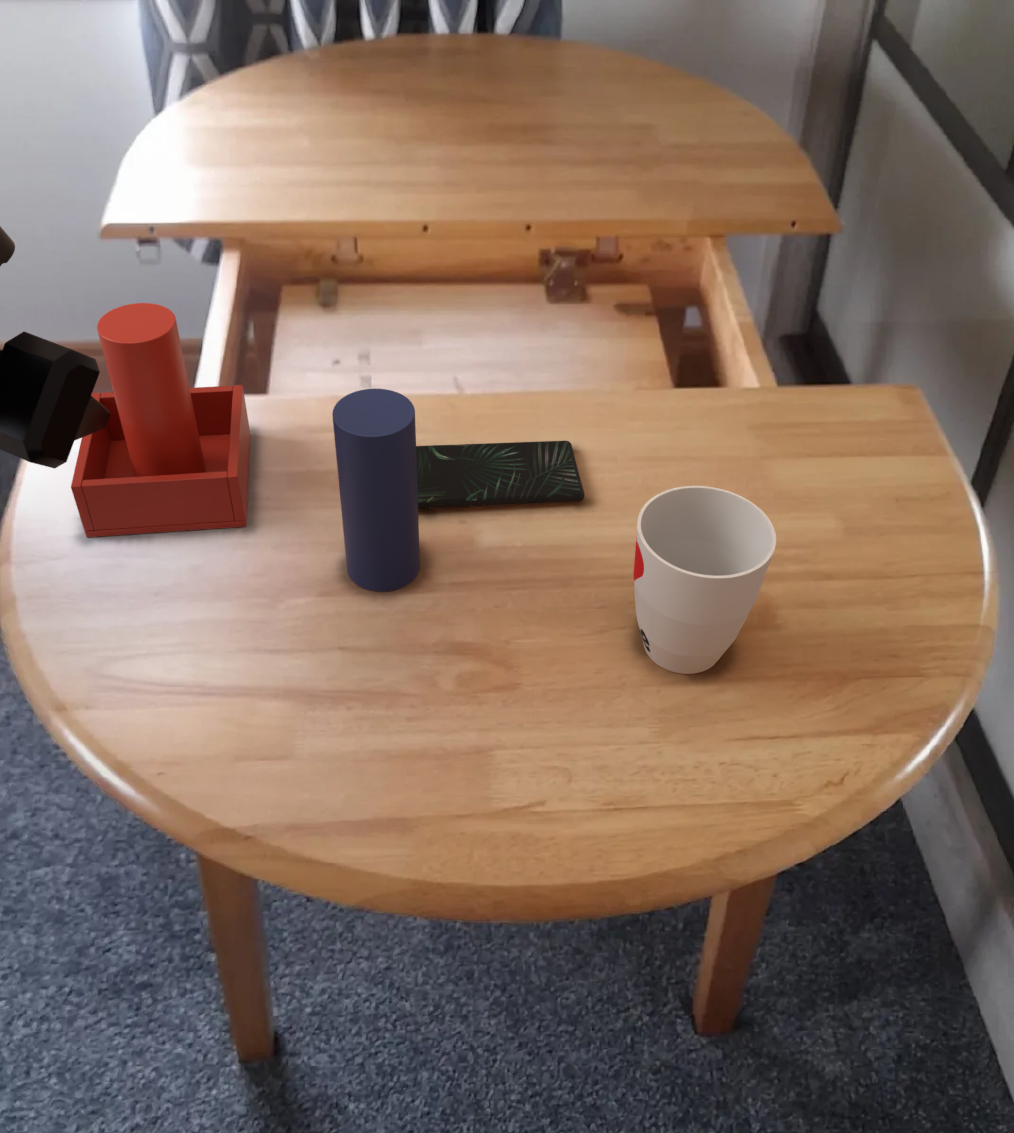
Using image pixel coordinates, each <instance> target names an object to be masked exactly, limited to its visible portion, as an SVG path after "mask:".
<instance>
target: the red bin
mask: <svg viewBox="0 0 1014 1133" xmlns="http://www.w3.org/2000/svg"><path fill="white" fill-rule="evenodd" d="M189 388H190V393H191V398H192V403H193V408H194V413H195V418H196V423H197V428H198V433H199V438H200V443H201V448H202V453H203V458H204V463H205V468H206V473H191V474H174V475H158V476H142V477H135V475H134V471H133V467H132V463H131V459H130V455H129V452H128V448H127V444H126V440H125V436H124V432H123V428H122V424H121V420H120V416H119V413H118V409H117V405H116V401H115V397H114V393H113V391H106V392H105V391H104V392H102V391H101V392H92V395H91V396H92V397H94V398H95V399H96V400H97V401H98V402H99V403H101V404H102V405H103V406H104V407H105V408H107V409H108V410H109V411H110V417H109V420H108V422H107V425H106V427H105V428H104V429H102V430H100V431H97V432H95V433H92V434H90V435H87V436H85V437H82V438H80V439H81V440H80V444H79V449H78V452H77V456H76V457H77V458H76V462H75V467H74V470H73V476H72V480H71V485H70V490H71V492H72V496H73V499H74V502H75V506H76V509H77V512H78V516H79V518H80V521H81V524H82V527H83V530H84V534H85V537H86V538H96V537H110V536H111V537H112V536H125V535H126V536H127V535H141V534H156V533H170V532H172V533H173V532H185V531H186V532H187V531H200V530H213V529H215V530H217V529H228V528H244V527H245V528H246V527H247V519H248V518H247V516H248V515H247V514H248V495H249V494H248V493H249V474H250V473H249V472H250V450H251V430H250V423H249V417H248V410H247V403H246V398H245V391H244V386H243V385H242V384H236V385H217V386H199V387H189Z"/></svg>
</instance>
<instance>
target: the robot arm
mask: <svg viewBox="0 0 1014 1133" xmlns="http://www.w3.org/2000/svg"><path fill="white" fill-rule="evenodd" d="M15 251H16V244H15V242H14V240H13V239H12V238H11V237H10V236H9V234H7V232H6V231H5V230H4V229H3V228H2V226H1V225H0V267H1V266H2V265H4V264H8V263H9V261H10V260H11V258H12V257H13V255H14V254H15ZM100 373H101V371H100V368H99V365H98V362H97V359H96V358H94V357H91V356H89V355H87V354H84V353H81V352H79V351H77V350H74V349H73V348H69V347H66V346H64V345H61V344H59V343H55V342H53V341H51V340H48V339H45V338H42V337H40V336H38V335H35V334H32V333H29V332H27V331H22V332H21V333H19V334H17V335H15V336H14V337H12V338H10V339H8V340H7V341H5V343H4V344H3V347H2V348H1V349H0V451H3V452H6V453H7V454H10V455H12V456H14V457H16V458H19V459H21V460H24V461H27V462H28V463H32V464H36V465H39V466H44V467H46V468H51V469H57V468H58V467H61V466H62V465H64V464H66V463H67V461H68V460H69V457H70V454H71V452H72V448H73V446H74V443H75V441H77V440H80V439H82V437H85V436H87V435H90V434H92V433H95V432H97V431H100V430H102V429H104V428H105V427H106V425H107V422H108V420H109V417H110V411H109V410H108V409H107V408H105V407H104V406H103V405H102V404H101V403H99V402H98V401H97V400H96V399H95V398H94V397H92V396H91V395H92V393H94V389H95V387H96V384H97V381H98V378H99V376H100Z"/></svg>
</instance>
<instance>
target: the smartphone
mask: <svg viewBox="0 0 1014 1133" xmlns="http://www.w3.org/2000/svg"><path fill="white" fill-rule="evenodd" d="M416 457H417V487H418V511H425V510H426V511H429V510H430V509H441V508H443V509H444V508H463V507H464V508H465V507H467V508H468V507H487V506H509V505H510V506H511V505H512V506H513V505H534V504H538V505H539V504H557V503H579V502H582V501H584V499H585V490H584V487H583V483H582V482H583V481H582V479H581V475H580V470H579V467H578V464H577V460H576V455H575V453H574V449H573V445H572V443H571V441H569V440H545V441H544V440H543V441H516V442H494V443H493V442H488V443H486V442H485V443H464V444H463V443H461V444H459V443H458V444H435V445H431V444H430V445H416Z"/></svg>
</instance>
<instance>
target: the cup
mask: <svg viewBox="0 0 1014 1133" xmlns="http://www.w3.org/2000/svg"><path fill="white" fill-rule="evenodd" d="M776 546H777V533H776V530H775V528H774V525H773V523H772V520H770V518H769V516H768V515H767V514H766V513H765V512H764V510H762V509H761V508H760V507H759V506H758V505H756V504H755V503H754V502H752V501H751V500H749V499H747V498H745V497H744V496H742V495H740V494H737V493H735V492H732V491H730V490H727V489H722V488H719V487H713V486H709V485H707V486H706V485H684V486H677V487H674V488H669V489H666V490H663V491H662V492H659V493H658V494H656V495H654V496H653V497H651V498H649V500H648V501H647V502H645V504H643V506H642V507H641V509H640V511H639V513H638V517H637V523H636V537H635V548H634V549H635V550H634V562H633V588H634V589H633V590H634V604H635V616H636V621H637V625H638V629H639V633H640V637H641V641H642V644H643V648H644V650H645V652H646V654H647V656H648V657H649V658H650V660H651V661H653V662H654V664H656V665H657V666H659V667H661V668H663V669H665V670H667V671H669V672H672V673H676V674H683V675H692V674H693V675H694V674H698V673H703V672H705V671H707V670H709V669H711V668H712V667H713V666H715V665H716V663H718V661H719V660H720V658H721V657H722V656H723V655H724V654H725V653H726V651H727V650H728V649H729V648H730V647H731V645H733V643H734V642H735V640H736V639H737V637H738V635H739V633H740V632H741V629H742V627H743V626H744V624H745V623H746V621H747V618H748V616H749V615H750V613H751V611H752V609H753V608H754V605H755V604H756V602H757V599H758V596H759V594H760V591H761V589H762V586H763V583H764V580H765V577H766V575H767V572H768V569H769V566H770V564H771V560H772V558H773V555H774V553H775V549H776Z"/></svg>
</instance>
